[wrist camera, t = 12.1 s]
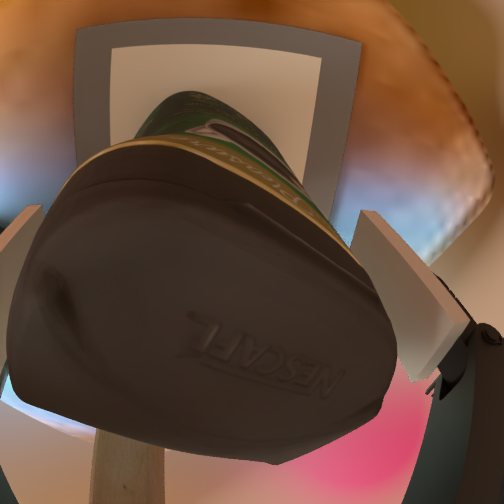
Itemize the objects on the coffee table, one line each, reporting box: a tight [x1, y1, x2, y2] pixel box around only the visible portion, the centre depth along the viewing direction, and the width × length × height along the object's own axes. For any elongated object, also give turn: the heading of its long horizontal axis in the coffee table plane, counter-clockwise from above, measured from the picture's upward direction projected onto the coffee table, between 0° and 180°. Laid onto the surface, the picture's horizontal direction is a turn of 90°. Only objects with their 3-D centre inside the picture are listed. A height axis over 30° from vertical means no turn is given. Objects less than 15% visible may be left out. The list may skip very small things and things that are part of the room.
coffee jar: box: [6, 91, 397, 465], centre depth 13 cm, size 10×8×19 cm
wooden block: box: [89, 428, 165, 504], centre depth 35 cm, size 10×10×20 cm
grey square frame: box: [73, 18, 362, 221], centre depth 21 cm, size 20×20×2 cm
